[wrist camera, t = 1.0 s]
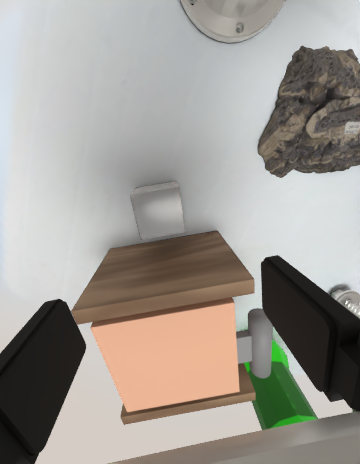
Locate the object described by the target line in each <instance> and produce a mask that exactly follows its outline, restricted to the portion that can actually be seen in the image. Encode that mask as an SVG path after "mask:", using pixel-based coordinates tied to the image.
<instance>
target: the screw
mask: <svg viewBox="0 0 360 464" xmlns="http://www.w3.org/2000/svg"><path fill="white" fill-rule="evenodd" d="M331 297H333V298H334V299H335V300H336V301H338V302H339V303H340V304H342V305H343V306H344V307H345V308H347V309H348V310H349V311H351V312H352V313H353V314H354V315H356V316H357V317H358V318H360V305H359V303H360V295H359V293H357V292H356V291H354V290H347V291H343V290H340V289H337V290H336V291H334V292H332V295H331Z"/></svg>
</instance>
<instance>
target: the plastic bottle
mask: <svg viewBox="0 0 360 464" xmlns="http://www.w3.org/2000/svg"><path fill="white" fill-rule="evenodd" d="M244 364H245V367H246V369H247V372H248V374H249V377H250V380H251V382H252V385H253V387H254V390H255V392H256V400H253V401H252V403H253V406H254V409H255V412H256V414H257V417H258V420H259V423H260V425H261V428H262V430H266V429H271V428H276V427H280V426H285V425H290V424H294V423H299V422H305V421H310V420H315V419H318V418H317V416H316V414H315V413H314V411H313V409H312V408H311V406H310V405H309V403H308V401H307V399H306V398H305V396H304V394H303V393H302V391H301V389H300V388H299V386H298V385H297V383H296V381H295V379H294V377H293V376H292V374H291V372H290V371H289V365H288V359H287V356H286V354H285V352H284V351H283V349H282V348H281V347H280V346H279V345H278V344H277V343H276V342H275V341H274V340H272V358H271V374H270V376H269V377H267V378H259V377H257V376H255V375H254V374H253V373H252V372H251V370H250V367H249V362H245V363H244Z"/></svg>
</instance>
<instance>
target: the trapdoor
mask: <svg viewBox="0 0 360 464" xmlns="http://www.w3.org/2000/svg"><path fill="white" fill-rule="evenodd" d="M90 328H91V331H92V333H93V335H94V337H95V340H96V342H97V344H98V347H99V349H100V351H101V353H102V355H103V358H104V360H105V363H106V365H107V367H108V369H109V372H110V374H111V376H112V378H113V381H114V383H115V385H116V388H117V390H118V392H119V395H120V397H121V399H122V402H123V404H124V406H125V408H126V411H127V412H132V411H137V410H143V409H148V408H154V407H159V406H164V405H170V404H175V403H181V402H186V401H192V400H197V399H203V398H208V397H214V396H219V395H225V394H230V393H236V392H240V390H239V374H238V364H240V363H245V362H249V367H250V370H251V372H252V373H253V374H254V375H255V376H257V377H259V378H267V377H269V376H270V374H271V358H272V329H273V325H272V323H271V322H270V321H269V319H268V318H267V316H266V315H265V313H264V311H263V309H258V308H257V309H252V310H251V311H249V313H248V330H244V331H238V332H236V324H235V308H234V301H233V299H232V297H230V298H224V299H218V300H213V301H207V302H202V303H196V304H190V305H185V306H179V307H173V308H168V309H162V310H156V311H151V312H145V313H140V314H134V315H128V316H123V317H117V318H111V319H106V320H100V321H94V322H93V323H92V325H91V327H90Z"/></svg>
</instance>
